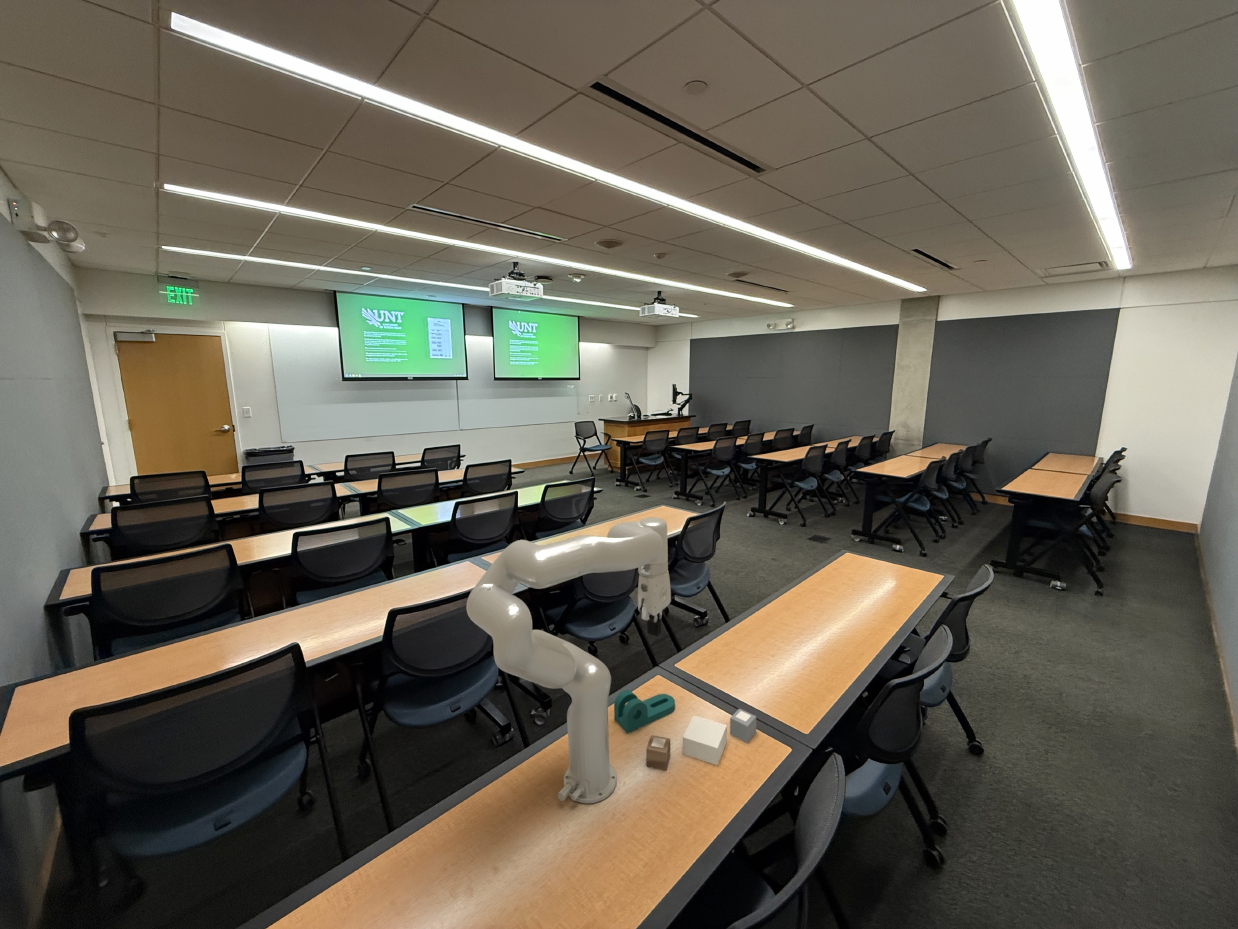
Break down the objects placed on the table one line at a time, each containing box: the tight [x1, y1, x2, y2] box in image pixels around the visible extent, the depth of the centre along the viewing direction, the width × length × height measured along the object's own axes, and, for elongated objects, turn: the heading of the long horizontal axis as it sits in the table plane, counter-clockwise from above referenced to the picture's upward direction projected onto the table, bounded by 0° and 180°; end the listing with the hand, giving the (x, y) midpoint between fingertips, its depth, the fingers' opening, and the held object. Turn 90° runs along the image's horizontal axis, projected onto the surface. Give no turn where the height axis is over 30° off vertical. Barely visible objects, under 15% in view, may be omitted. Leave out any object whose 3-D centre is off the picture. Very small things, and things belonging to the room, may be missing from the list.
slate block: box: [729, 708, 757, 744], centre depth 128 cm, size 5×5×5 cm
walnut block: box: [645, 734, 672, 772], centre depth 119 cm, size 5×5×5 cm
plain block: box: [682, 715, 728, 766], centre depth 123 cm, size 9×9×5 cm
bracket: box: [613, 689, 676, 735], centre depth 136 cm, size 18×7×8 cm, turn 121°
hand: (654, 633), depth 124 cm, fingers closed
